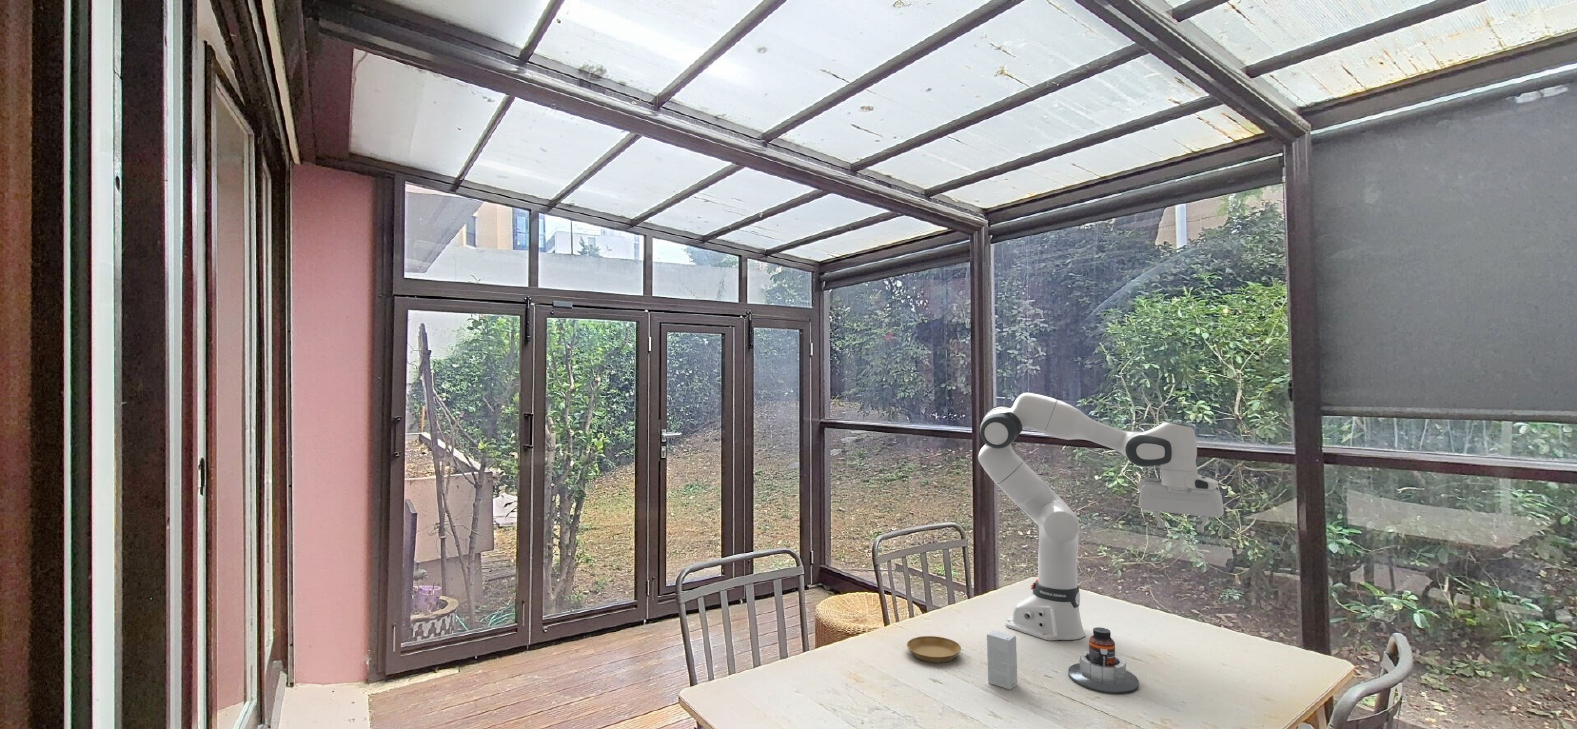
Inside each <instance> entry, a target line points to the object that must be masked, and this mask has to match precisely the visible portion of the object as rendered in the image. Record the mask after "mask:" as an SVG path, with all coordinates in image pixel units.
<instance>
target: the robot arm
mask: <svg viewBox="0 0 1577 729" xmlns="http://www.w3.org/2000/svg"><path fill="white" fill-rule="evenodd" d="M1023 430H1033V431H1035V432H1038V433H1041V434H1044V435H1045V436H1050V437H1053V438H1057V439H1061V440H1067V441H1069V440H1070V441H1072V440H1082V441H1083V440H1085V441H1089V442H1093V443H1095V444H1098V445H1101V446H1104V447H1106V448H1109V449H1112V450H1114V451H1116V452H1118V453H1119V454H1120V455H1122V456H1123V457H1124V458H1125V459H1126V460H1128V461H1129V462H1130V463H1131V464H1133V465H1135V466H1137V467H1141V468H1150V467H1156V466H1157V467H1158V466H1160V475H1161V476H1160V477H1144V478H1141V479H1140V480H1139V481H1138V490H1139V491H1140V492H1139V502H1138V503H1139V504H1138V506H1139V508H1140V509H1141V510H1143V511H1152V512H1153V514H1152V515H1153V517H1154V518H1155V520H1156V522H1157V527H1158V528H1163V529H1165V528H1166V521H1165V520H1162V518H1161V516H1160V515H1161V513H1169V514H1181V515H1190V516H1199V517H1200V519H1201V521H1202V522H1201V524H1197V525H1196V532H1197V533H1204V532H1205V525H1206V524H1207V522H1208V521H1209V520H1210V519H1209V518H1216V519H1219V518H1221V517H1222V516H1223V515H1224V514H1225V512H1224V511H1225V510H1224V503H1223V496H1222V494H1221V492H1220V491H1219V490H1218V489H1217V487H1218V481H1217V480H1215V479H1213V478H1211V477H1208V476H1204V475H1201V474H1198V466H1197V462H1196V460H1197V458H1198V457H1197V456H1198V445H1197V437H1196V432H1195V431H1194V428H1192V426H1190V425H1188V424H1185V423H1181V422H1175V421H1163V422H1162V423H1160V424H1159V425H1157V426H1156V427H1153V428H1151V429H1148V430H1146V431H1144V430H1125V429H1124V430H1123V429H1119V428H1117V427H1114V426H1111V425H1107V424H1106V423H1102V422H1099V421H1097V420H1095V419H1093V418H1091V417H1090V416H1088V415H1086V414H1085V413H1084V412H1083V411H1082V410H1080V409H1079V408H1077V407H1075V406H1073V405H1071V404H1069V403H1067V402H1065V401H1063V400H1059V399H1056V398H1054V397H1049V396H1047V395H1043V394H1037V393H1034V392H1023V393H1021V394H1019V395H1018V396H1017V397H1016V399H1015V401H1014V402H1013V404H1012V406H1009V405H1003V404H1000V405H996V406H994V407H992V408H991V409H990V410H989V411H988V412H987V413H985V415H984V416H983V418H982V421H981V423H980V425H979V434H980V437H981V440H982V441H983V443H984V445H983V446H981V448H980V450H979V452H978V455H977V460H978V462H979V464H980V465H981V467H982V468H983V470H984V471H985V474H987V475H988V476H989V478H990V479H991V480H992V481H993V482H994V484H996V486H998V488H1000V490H1002V491H1003V493H1004V494H1005V495H1006V496H1007V497H1009V499H1010V500H1011V501H1012V502H1013V503H1014V504H1015V505H1016V506H1017V507H1018V508H1019V509H1020V510H1021V511H1023V513H1024V514H1026V515H1027V516H1028V517H1029V518H1030V519H1031V520H1032V521H1033V522H1034V523H1035V524H1036V526H1037V527H1038V549H1037V550H1038V553H1037V554H1038V555H1037V572H1038V574H1037V577H1038V578H1037V579H1036V580H1035V581H1034V582H1033V583H1031V585H1030V590H1032V592H1031V593H1030V594H1028V595H1027V596H1026V597H1023V598H1021V600H1019V601H1017V603H1016V604H1015V606H1014V608H1013V613H1012V615H1010V616H1009V617H1008V618H1006V620H1005V627H1007V628H1009V629H1012V630H1015V631H1019V632H1021V633H1025V634H1027V635H1030V636H1033V637H1037V638H1040V639H1043V640H1045V641H1059V640H1062V641H1063V640H1065V641H1069V640H1071V641H1072V640H1073V641H1074V640H1079V639H1082V638H1083V637H1085V630H1084V627H1083V623H1082V620H1081V619H1082V618H1081V612H1080V605H1081V604H1080V603H1081V593H1080V586H1079V585H1078V554H1079V552H1078V550H1079V539H1080V535H1079V534H1080V522H1079V518H1078V517H1077V514H1076V513H1075V512H1074V511H1073V510H1072V509H1071V507H1070V506H1069V505H1068V504H1067V503H1066V502H1065V501H1064V500H1063V499H1062V498H1061V497H1059V495H1058V494H1057V493H1056V492H1055V491H1054V490H1053V489H1052V488H1051V487H1050V486H1049V485H1048V484H1047V483H1046V482H1045V481H1044V480H1043V479H1042V478H1041V477H1040V476H1039V475H1038V474H1037V473H1036V472H1035V471H1034V470H1033V469H1032V468H1031V467H1030V466H1029V465H1028V464H1027V463H1026V462H1025V461H1024V460H1023V459H1022V457H1020V456H1019V455H1018V454H1017V453H1016V452H1015V450H1014V449H1013V446H1012V444H1013V443H1014V441H1015V440H1016V439H1017V438H1018V437H1019V435H1020V434H1021V433H1022V432H1023Z"/></svg>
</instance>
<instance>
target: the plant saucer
mask: <svg viewBox="0 0 1577 729" xmlns="http://www.w3.org/2000/svg"><path fill="white" fill-rule="evenodd" d="M906 647H907V648H908V650H909V651H910V653H911V654H912V656H913V655H914V657H916V658H917V659H919V660H921V661H924V662H926V663H927V662H928V663H936V664H937V663H946V662H950V661H952V660H953V659H954V658H956V657H957V656H958V655H959V654H960V652H961V651H962V647H961V645H960V644H959V643H958V642H956V641H955V640H953V639H950V638H948V637H943V636H934V635H923V636H917V637H914V638H911V639H909V640H908V641H907V643H906Z"/></svg>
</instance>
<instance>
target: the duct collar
mask: <svg viewBox="0 0 1577 729" xmlns="http://www.w3.org/2000/svg"><path fill="white" fill-rule="evenodd" d="M1067 672H1068V677H1069V678H1070V680H1071V681H1072V682H1073V683H1075V684H1077V685H1078V686H1081V687H1082V688H1084V689H1088V690H1090V691H1094V692H1097V693H1102V694H1111V695H1125V694H1131V693H1134V692H1136V691H1138V689H1139V688H1140V681H1139V679H1138V677H1137V676H1136V675H1135V674H1133V673H1132V672H1131V671H1129V670H1127V663H1126V660H1124V659H1123V657H1120V656H1119V655H1116V654H1115V665H1114V666H1105V665H1099V664H1095V663H1092V662H1090V661H1089V651H1084V652H1082V653H1080V654H1079V662H1077V663H1074V664H1072V665H1070V666H1069V667H1068V671H1067Z"/></svg>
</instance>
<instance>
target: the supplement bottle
mask: <svg viewBox="0 0 1577 729" xmlns="http://www.w3.org/2000/svg"><path fill="white" fill-rule="evenodd" d="M1092 634H1093V635H1091V636H1089V640H1088V646H1089V648H1088V649H1089V650H1088V652H1089V661H1090V662H1092V663H1095V664H1099V665H1105V666H1114V665H1115V655H1116V643H1115V641H1114V639H1113V638H1112V637H1111V630H1109V629H1108V628H1105V627H1100V626H1099V627H1093V629H1092Z"/></svg>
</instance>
